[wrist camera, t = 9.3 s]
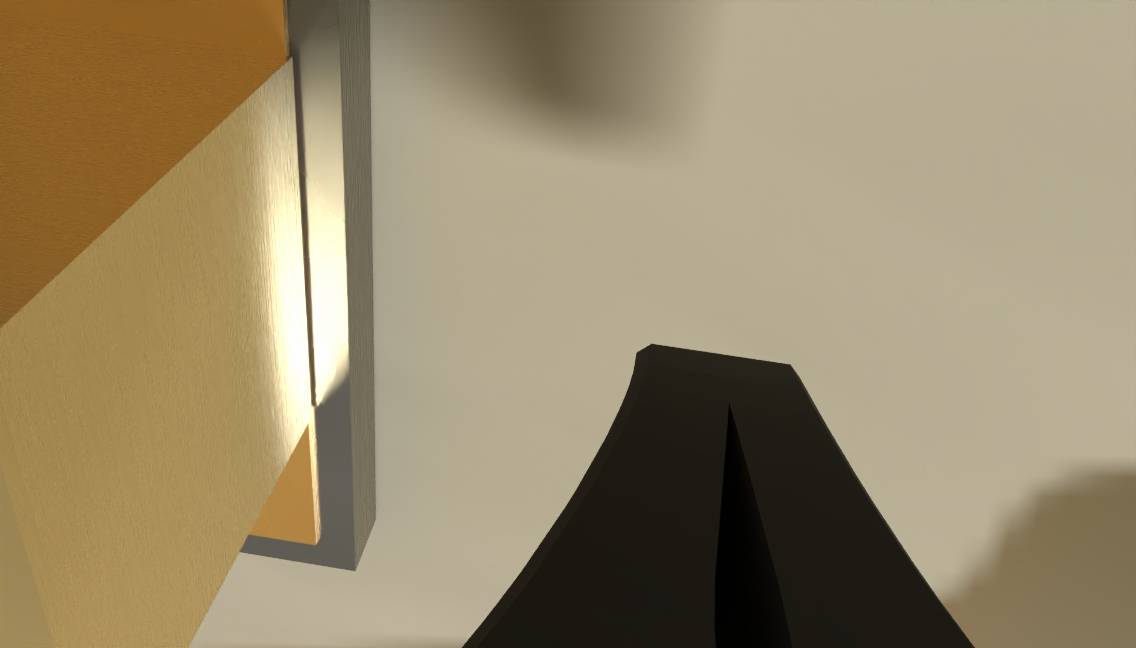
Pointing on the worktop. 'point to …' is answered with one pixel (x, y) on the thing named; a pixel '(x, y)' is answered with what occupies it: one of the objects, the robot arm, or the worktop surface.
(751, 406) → the robot arm
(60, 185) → the clip nut
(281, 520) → the grey and orange tray
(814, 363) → the worktop surface
